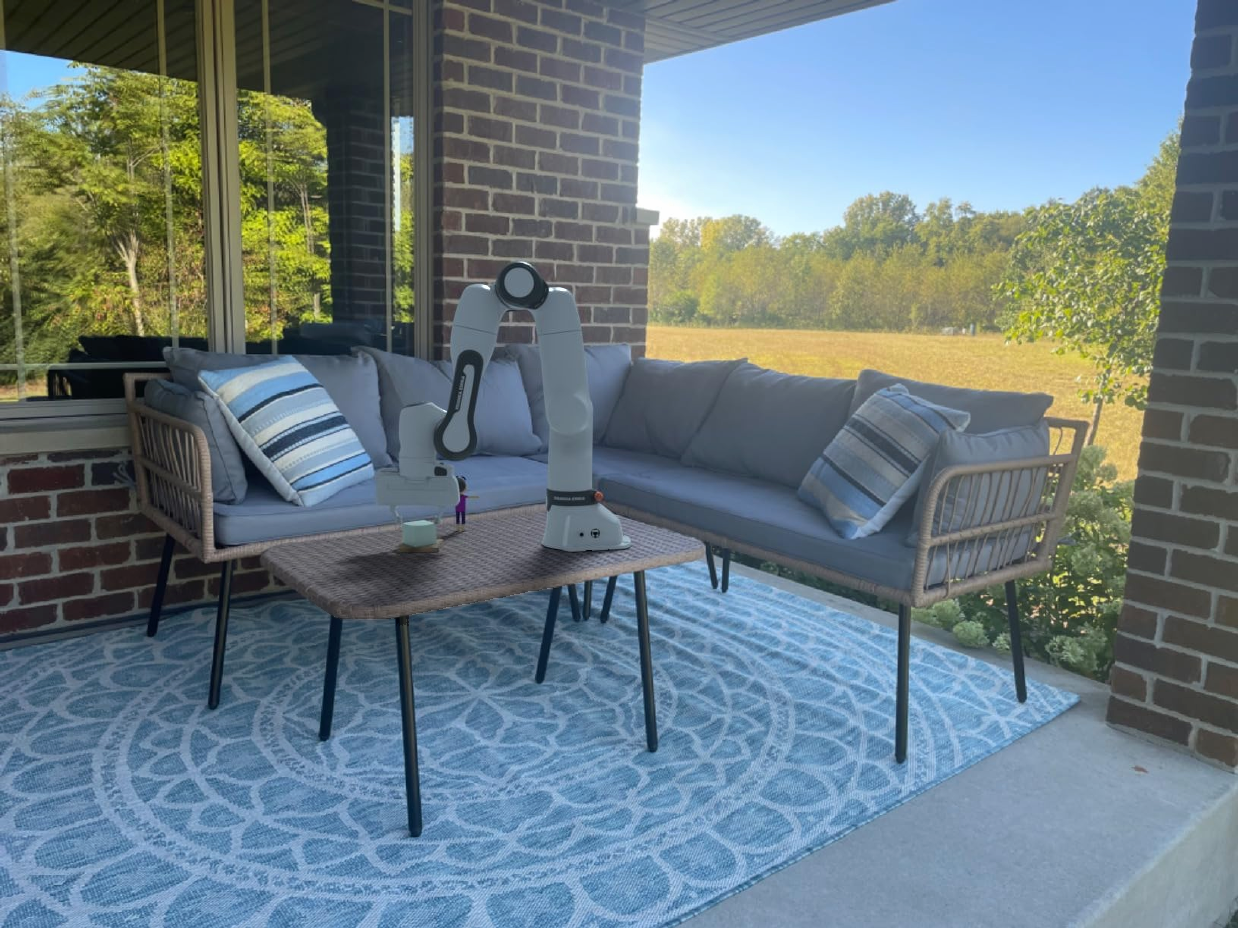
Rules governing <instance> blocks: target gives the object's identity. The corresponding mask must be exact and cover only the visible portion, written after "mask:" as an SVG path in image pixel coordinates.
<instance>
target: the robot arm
mask: <svg viewBox="0 0 1238 928" xmlns="http://www.w3.org/2000/svg"><path fill="white" fill-rule="evenodd" d="M526 310H527V311H528V312H530V313H531V315H532V317H533V319H534V322H535V323H534V324H535V328H536V330H535V331H536V337H537V344H538V351H539V359H540V366H541V368H540V369H541V376H542V379H541V380H542V388H543V389H542V390H543V398H544V399H543V400H544V410H545V418H546V421H547V423H548V425H549V435H548V455H547V487H546V493H545V508H546V522H545V528H544V534H543V538H542V541H541V545H543V547H547V548H550V549H557V550H562V551H564V552H571V553H572V552H587V551H586V550H592V551H607V550H608V549H609V550H623V549H628V548H630V547H631V546H632V541H631V538H630V537H629V536H628V535H626V534H624V533H623V526H622V524H621V520H620V519H619V517H618V516H617V515H616V514H614V513H613V512H612V511H610V510H609V508H606V507H605V506H604V505H603V504H601V503H600V502H601V501H602V499H604V494H603V493H602V492H601V491H599V490H598V489H596V488H594V487H593V440H594V439H593V436H594V434H593V433H594V432H593V431H594V406H593V403H592V400H591V397H590V389H589V381H588V370H587V362H586V361H587V360H586V352H585V346H584V338H583V330H582V323H581V318H580V315H579V310H578V306H577V303H576V300H575V297H574V295H573V293H572V292H571V291H570V290H569V289H567V288H564V287H560V286H557V287H556V286H554V287H552V286H551V287H549V284H548V283H547V282H546V280H545V279H544V277H543V276H542V275H541V273H540V272H539V271H538V270H537V268H536V267H535V266H533V264H530V263H528V262H527V261H523V260H516V261H510V262H508V263H506V264H505V265H504V266H502V267H501V268H500V269H499V271H498V273H497V276H496V279H495V281H494V282H493V283H491V284H484V283H475V284H470V285H468V286H466V287H465V289H463V291H462V294H461V296H460V298H459V301H458V304H457V306H456V310H455V312H454V317H453V322H452V326H451V330H450V331H451V333H450V342H449V344H450V345H449V351H450V352H449V353H450V355H449V356H450V358H451V364H452V372H453V373H452V374H453V375H452V385H451V389H450V395H449V399H448V405H447V410H444V409H443V408H441V407H439V406H437V405H436V404H435V403H433V402H432V401H430V400H424V401H423V400H422V401H421V400H420V401H416V402H411V403H407V404H406V405H404V406H403V408H402V409H401V410H400V413H399V418H398V419H399V422H398V440H399V444H400V449H399V453H398V467H380V468H379V469H377V470H376V471H374V475H373V476H374V479H373V480H374V484H375V485H376V488H375V494H374V495H375V497H374V502H375V503H376V505H377V506H378V507H379V506H381V507H384V506H385V507H386V506H387V507H389V511H390V512H391V514H392V516H393V517H394V524H395V525H400V524H401V525H402V523H403V515H399V513H398V512H397V510H398V507H400V506H401V507H405V506H406V507H410V506H411V507H438V510H439V511H440V512H439V514H438V515H435V516H433V517H434V519H433V520H434V522H433V523H434V524H436V525H441V524H442V516H443V515H444V512H445V510H446V507H455V506H456V505H457V504H458V503H459V502H460V492H459V485H458V481H457V478H456V476H455V475H454V474H455V467H454V465H453V464H449V463H447V462H443V461H441V460H437V454H438V455H439V456H440V457H442V458H443V459H445V460H446V461H450V462H462V461H464V460H467V459H469V458H470V457H471V455H473V454H474V452H475V450H476V448H477V444H478V436H477V430H476V427H475V423H474V421H475V412H476V406H477V402H478V401H477V400H478V396H479V391H480V385H481V382H482V378H483V377H484V374H485V371H486V369H487V367H488V365H489V363H490V361H491V360H492V359H491V358H492V356H493V354H494V350H495V348H496V343H497V339H498V334H499V329H500V324H501V321H502V318H503V316H504V314H505V313H509V312H511V313H512V312H521V311H526Z"/></svg>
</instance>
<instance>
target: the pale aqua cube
mask: <svg viewBox="0 0 1238 928" xmlns="http://www.w3.org/2000/svg"><path fill="white" fill-rule="evenodd" d="M401 534H402V535H401V538H402V539H401V541H402V543H404V544H407V545H410V546H414V547H418V546H424V545H430V544H436V539H437V524H434V522H432V521H428V520H424V519H421V520H413V521H409V522H407V521H406V522H402V523H401Z"/></svg>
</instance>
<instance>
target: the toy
mask: <svg viewBox="0 0 1238 928" xmlns="http://www.w3.org/2000/svg"><path fill="white" fill-rule="evenodd" d="M455 477H456V478H457V481H458V485H459V492H460V502H459V503H458V504H457V505H456V506H454V510H455V524H456V525H455V526H456V527H455V528H456V531H457V532H459V531H462V532H465V531H466V530H467V529H466V511H467V510H466V509H467V506H466V505H467V499H470V498H471V499H472V498H473V499H479V498H480V496H479V495H465V494H463V493H465V492H466V491H467V490H468V485H467V482H466V480H467V479H466V477H465V476H463V475H462V476H460V477H459V476H458V475H456V476H455ZM460 520H461V521H460ZM460 523H461V526H460ZM460 527H461V528H460Z"/></svg>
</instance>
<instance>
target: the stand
mask: <svg viewBox="0 0 1238 928" xmlns="http://www.w3.org/2000/svg"><path fill="white" fill-rule="evenodd" d="M443 544H444V539H443V538H436V544H430V545H424V546H418V547H414V546H410V545H407V544H404V543H402V540H401V542H400V543H399V544H398V545H397V547H396V553H440V550H441V548H442V546H443Z"/></svg>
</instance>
